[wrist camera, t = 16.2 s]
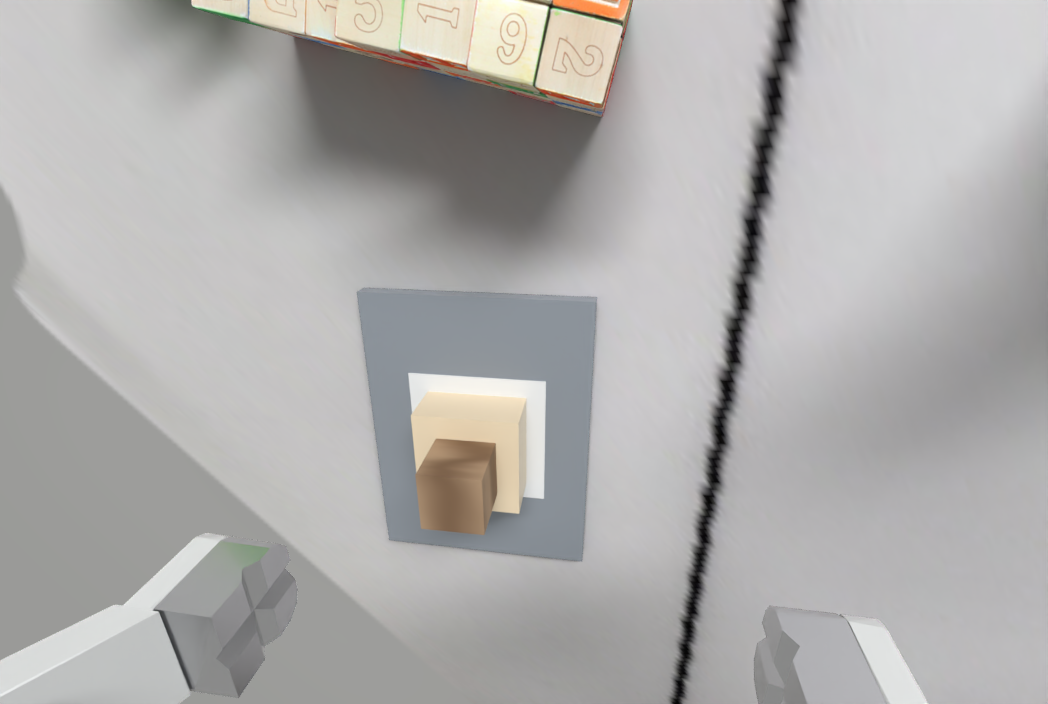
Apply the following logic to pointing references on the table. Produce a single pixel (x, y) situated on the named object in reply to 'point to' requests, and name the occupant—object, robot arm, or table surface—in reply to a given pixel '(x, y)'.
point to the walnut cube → (457, 486)
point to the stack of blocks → (466, 39)
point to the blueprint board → (484, 354)
